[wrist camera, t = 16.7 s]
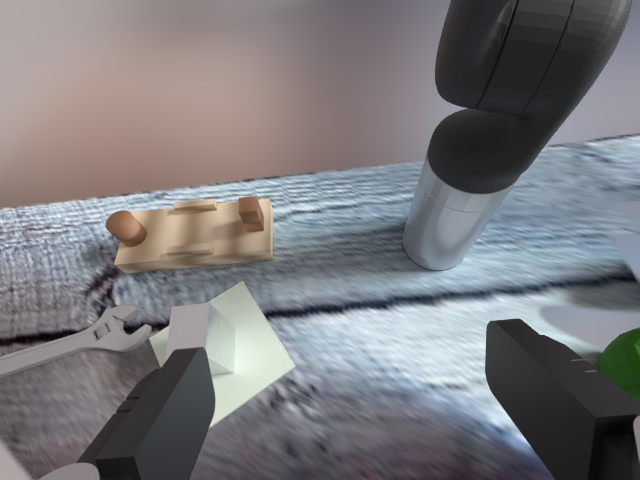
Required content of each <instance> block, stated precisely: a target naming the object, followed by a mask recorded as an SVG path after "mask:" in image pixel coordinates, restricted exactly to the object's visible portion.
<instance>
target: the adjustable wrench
mask: <svg viewBox="0 0 640 480" xmlns="http://www.w3.org/2000/svg"><path fill="white" fill-rule="evenodd" d="M141 312H142V310H141V309H140V308H139V307H137V306H134V305H121V306H118V307H115V308H112V309H110V308H107V309H106V310H105V312H103V315H102V316H101V318H100V319H99V320H98V321H96V322H95V323H94V324H93V325H92V326H91V327H89V328H88V329H86V330H84V331H82V332H80V333H77V334H73V335H70V336H67V337H64V338H60V339H57V340H54V341H50V342H47V343H44V344H40V345H37V346H34V347H30V348H27V349H24V350H21V351H17V352H14V353H11V354H7V355H4V356H1V357H0V378H2V377H5V376H8V375H11V374H14V373H17V372H20V371H23V370H26V369H29V368H32V367H35V366H38V365H41V364H44V363H47V362H50V361H53V360H56V359H59V358H62V357H65V356H68V355H71V354H74V353H77V352H80V351H83V350H88V349H107V350H113V351H118V352H128V351H132V350H134V349H136V348H138V347H139V346H141V345H142V344H143V343H144V342H145V340H146V339H147V338H148V337H149V335H150V332H151V330H152V328H151V326H149V325H147V324H145V325H144V326H143V327H141V328H140V329H139V330H137V331H136V332H134V333H133V334H132V335H128V334H126V333H125V331H124V329H123V325H124V321H126V322H128V321H129V320H131V319H132V318H134V317H135V316H136V315H138V314H139V313H141Z"/></svg>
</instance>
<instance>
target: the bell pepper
mask: <svg viewBox="0 0 640 480" xmlns="http://www.w3.org/2000/svg"><path fill="white" fill-rule="evenodd" d="M599 367H600V372H601V373H602V374H603V375H605V376H606V377H607V378H609V379H610V380H611V381H613V382H614V383H615V384H616V385H618V386H619V387H620V388H622V389H623V390H624V391H625V392H627V393H628V394H629V395H631V396H632V397H633V398H635V399H636V400H637V401H638V402H640V328H636V329H633V330H631V331H628V332H626V333H623V334H620V335H619V336H618V337H617V338H616V339H615V340H614V341H612V342H611V343H610V344H609V345H608V346H607V347H606V348H605V350H604V351H603V353H602V354H601V356H600V357H599Z"/></svg>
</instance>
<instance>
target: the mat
mask: <svg viewBox="0 0 640 480" xmlns="http://www.w3.org/2000/svg"><path fill="white" fill-rule="evenodd" d="M207 303H210V304H211V305H212V306H213V307H214V308H215V309H216V310H217V311H218V312H220V313H221V314H222V315H223V316H224V317H225V318H226V319H227V320H228V321H229V322H230V323H231V324H232V325H233V326H234V327H235V328H236V334H235V369H234V373H229V374H220V375H212V381H213V386H214V391H215V400H216V401H215V412H214V416H213V419H212V422H211V424H210V427H209V429H210V428H211V427H213V426H214V425H216V424H217V423H218V422H220V421H221V420H223V419H224V418H225V417H227V416H228V415H230V414H231V413H232V412H234V411H235V410H237V409H238V408H239V407H241V406H242V405H243V404H245V403H246V402H248V401H249V400H250V399H252V398H253V397H255V396H256V395H257V394H259V393H260V392H262V391H263V390H264V389H266V388H267V387H269V386H270V385H271V384H273V383H274V382H276V381H277V380H278V379H280V378H281V377H283V376H284V375H285V374H287V373H288V372H290V371H291V370H292V369H294V368H295V365H294V363H293V362H292V360H291V358H290V357H289V355H288V353H287V352H286V350H285V349H284V347H283V345H282V344H281V342H280V340H279V339H278V337H277V336H276V334H275V332H274V331H273V329H272V327H271V326H270V324H269V322H268V321H267V319H266V318H265V316H264V314H263V313H262V311H261V309H260V308H259V306H258V305H257V303H256V301H255V300H254V298H253V296H252V295H251V293H250V292H249V290H248V288H247V287H246V285H245V283H244V282H243V281H241V282H240V283H238V284H236V285H235V286H233V287H231V288H230V289H228V290H227V291H225V292H223V293H222V294H220V295H218V296H217V297H215V298H214V299H212V300H210V301H209V302H207ZM168 331H169V326H168V327H166V328H165V329H163V330H162V331H160V332H158V333H157V334H155V335H153V336H152V337H150V338H149V340H150V342H151V345H152V347H153V350H154V352H155V355H156V357H157V360H158V362H159V365H160V367H162V366H163V365H164V363H165V362H166V361H165V354H166V347H167V339H168ZM209 429H208V430H209Z"/></svg>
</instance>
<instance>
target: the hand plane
mask: <svg viewBox="0 0 640 480" xmlns="http://www.w3.org/2000/svg"><path fill="white" fill-rule="evenodd" d="M106 228H107V230H108V231H109V232H110V233H112V234H113V235H114V236H115V237H116V238H117V239H119V240H120V244H119V248H118V252H117V256H116V260H115V263H114V265H115V266H116V267H118V268H119V269H120V270H122V271H123V272H124V273H126V274H129V273H139V272H150V271H160V270H171V269H181V268H192V267H202V266H213V265H223V264H234V263H244V262H255V261H265V260H273V208H272V205H271V202H270V199H261V200H258V199H257V196H254V197H244V198H239V202H231V203H220V204H217V203H216V201H215V199H208V200H198V201H187V202H177V203H175V204H174V208H169V209H159V210H149V211H139V212H128V211H124V210H123V211H118V212H115V213H114V214H112V215H111V216H110V217H109V218H108V219H107V221H106Z"/></svg>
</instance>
